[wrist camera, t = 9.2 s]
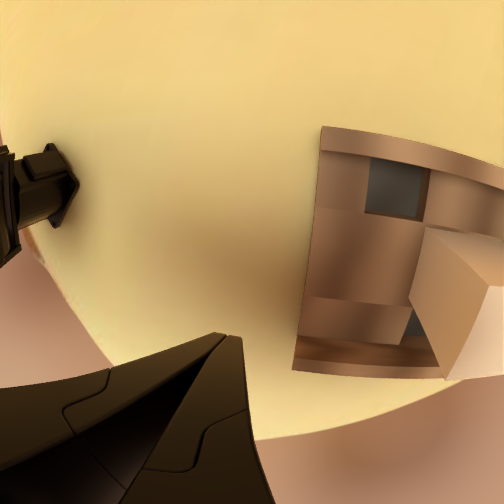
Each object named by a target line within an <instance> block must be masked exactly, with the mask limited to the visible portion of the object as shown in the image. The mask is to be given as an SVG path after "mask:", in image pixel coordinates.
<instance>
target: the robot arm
mask: <svg viewBox="0 0 504 504" xmlns="http://www.w3.org/2000/svg"><path fill="white" fill-rule="evenodd" d="M14 159H15V153H9V150H8V147H7V145H3V146H0V268H1V267H2V266H4V265H5V264H6V263H7V262H8V261H9V260H10V259H12V258H13V257H14V256H15V255H16V254H18V253H19V252H20V251H21V250H22V248H21V244H20V241H19V234H18V230H20V229H23V228H25V227H27V226H30V225H32V224H35V223H37V222H39V221H42V220H44V219H48V220H49V222H50V224H51V225H52V227H53V228H54V229H56V228H58V227H59V226H60V223H61V221H62V219H63V217H64V215H65V213H66V211H67V209H68V207H69V205H70V203H71V201H72V199H73V197H74V195H75V193H76V191H77V189H78V187H79V184H78V181H77V179H76V178H75V177H74V175H73V174H72V172H71V171H70V169H69V168H68V166H67V165H66V163H65V162H64V160H63V159H62V157H61V156H60V154H59V153H58V151H57V150H56V148H55V147H54V145H53V144H52V143H48V144H47V145H46V147H45V149H44V151H43V153H38V154H32V155H27V156H24V157H23V159H19V160H15V161H14ZM0 504H276V503H275V501H274V498H273V496H272V493H271V490H270V487H269V484H268V482H267V479H266V476H265V473H264V470H263V468H262V465H261V462H260V459H259V455H258V452H257V448H256V445H255V441H254V436H253V430H252V424H251V416H250V409H249V400H248V391H247V382H246V372H245V363H244V353H243V343H242V338H241V337H238V336H232V335H228V336H227V335H226V334H221V333H216V332H213V333H210V334H208V335H205V336H203V337H200V338H197V339H194V340H192V341H189V342H186V343H184V344H181V345H178V346H175V347H172V348H170V349H167V350H164V351H161V352H158V353H155V354H152V355H149V356H146V357H143V358H140V359H137V360H134V361H131V362H128V363H125V364H121V365H118V366H115V367H112V368H111V370H110V369H109V368H107V369H104V370H100V371H97V372H93V373H90V374H86V375H82V376H78V377H73V378H68V379H63V380H58V381H52V382H46V383H39V384H33V385H26V386H18V387H10V388H1V389H0Z"/></svg>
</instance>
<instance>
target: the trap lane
mask: <svg viewBox="0 0 504 504" xmlns="http://www.w3.org/2000/svg"><path fill="white" fill-rule="evenodd" d="M425 227H427V228H434V229H440V230H446V231H452V232H458V233H463V234H469V235H475V236H480V237H485V238H490V239H495V240H500V241H502V242H504V169H502V168H500V167H497V166H495V165H492V164H489V163H486V162H484V161H481V160H478V159H475V158H472V157H469V156H466V155H463V154H459V153H456V152H453V151H449V150H446V149H442V148H439V147H435V146H431V145H427V144H423V143H419V142H415V141H411V140H406V139H402V138H397V137H392V136H387V135H382V134H376V133H370V132H364V131H358V130H351V129H344V128H337V127H328V126H322V129H321V137H320V152H319V166H318V178H317V189H316V200H315V210H314V220H313V229H312V237H311V245H310V253H309V261H308V269H307V276H306V283H305V290H304V297H303V303H302V309H301V316H300V322H299V328H298V334H297V340H296V347H295V353H294V359H293V365H292V370H297V371H304V372H312V373H321V374H331V375H342V376H355V377H371V378H400V379H427V378H444V376H443V374H442V371H441V369H440V366H439V364H438V361H437V359H436V356H435V354H434V351H433V349H432V347H431V344H430V342H429V340H428V338H427V335H426V333H425V331H424V329H423V327H422V324H421V322H420V320H419V318H418V316H417V314H416V312H415V310H414V308H413V306H412V304H411V302H410V300H409V298H408V297H409V294H410V290H411V287H412V283H413V280H414V276H415V272H416V268H417V264H418V260H419V256H420V251H421V247H422V242H423V237H424V232H425Z"/></svg>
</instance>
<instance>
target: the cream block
mask: <svg viewBox="0 0 504 504" xmlns="http://www.w3.org/2000/svg"><path fill="white" fill-rule="evenodd" d="M408 298H409V300H410V302H411V304H412V306H413V308H414V310H415V312H416V314H417V316H418V318H419V320H420V322H421V324H422V327H423V329H424V331H425V333H426V335H427V338H428V340H429V342H430V344H431V347H432V349H433V351H434V354H435V356H436V359H437V361H438V364H439V366H440V369H441V371H442V374H443V376H444V379H445V381H447V380H460V379H471V378H479V377H488V376H495V375H502V374H504V242H502V241H500V240H495V239H490V238H485V237H480V236H475V235H469V234H463V233H458V232H452V231H446V230H440V229H434V228H427V227H425V232H424V237H423V242H422V247H421V251H420V256H419V260H418V264H417V268H416V272H415V276H414V280H413V283H412V287H411V290H410V294H409V297H408Z"/></svg>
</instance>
